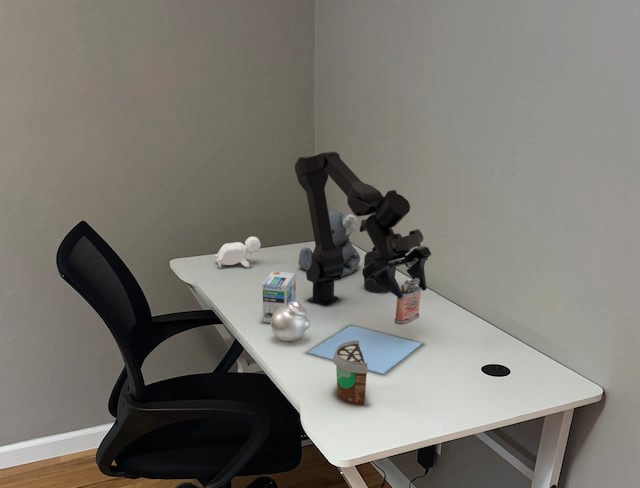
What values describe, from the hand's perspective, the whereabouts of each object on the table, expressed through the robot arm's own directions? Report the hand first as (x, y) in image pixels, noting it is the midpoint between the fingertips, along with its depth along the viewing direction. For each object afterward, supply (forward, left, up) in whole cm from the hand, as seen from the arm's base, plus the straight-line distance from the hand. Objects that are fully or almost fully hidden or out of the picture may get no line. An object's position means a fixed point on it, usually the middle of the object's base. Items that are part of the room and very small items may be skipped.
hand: (413, 293), depth 166 cm
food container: (+32, +1, -13) cm, 35 cm away
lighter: (0, -1, -7) cm, 7 cm away
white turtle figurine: (-25, -73, -13) cm, 78 cm away
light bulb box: (+4, -36, -13) cm, 39 cm away
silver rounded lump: (+15, -25, -13) cm, 32 cm away
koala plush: (-38, -45, -13) cm, 60 cm away
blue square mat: (+9, -7, -13) cm, 17 cm away
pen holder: (-31, -25, -13) cm, 42 cm away
